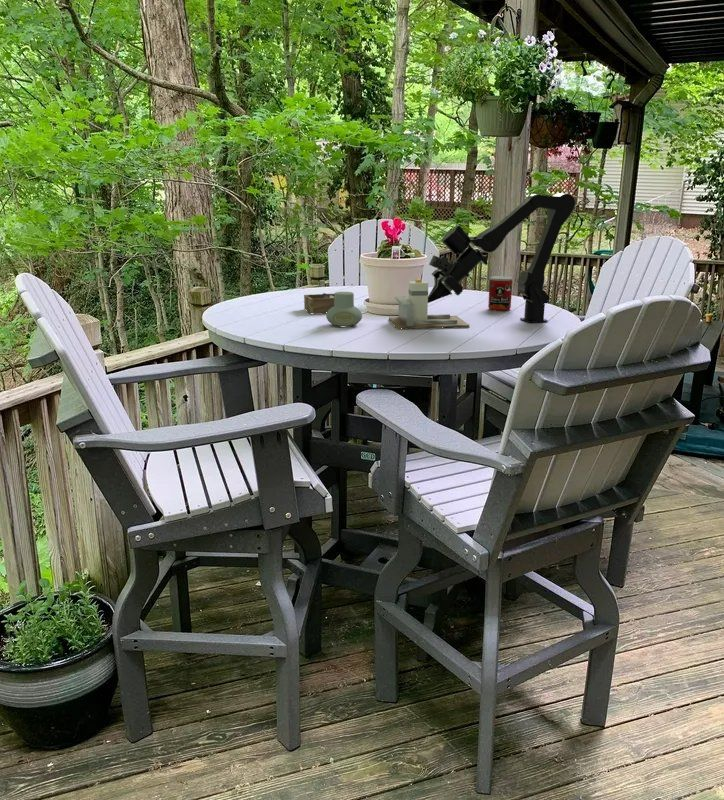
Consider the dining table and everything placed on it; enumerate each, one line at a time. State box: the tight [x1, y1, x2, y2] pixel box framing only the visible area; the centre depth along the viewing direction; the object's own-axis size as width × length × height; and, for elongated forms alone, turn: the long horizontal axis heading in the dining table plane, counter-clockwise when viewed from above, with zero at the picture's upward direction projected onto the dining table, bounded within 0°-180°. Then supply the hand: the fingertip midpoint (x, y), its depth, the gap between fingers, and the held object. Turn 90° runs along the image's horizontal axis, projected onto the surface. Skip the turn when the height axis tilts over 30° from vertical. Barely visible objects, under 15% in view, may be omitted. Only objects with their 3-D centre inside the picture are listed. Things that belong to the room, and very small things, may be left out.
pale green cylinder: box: [408, 278, 429, 321], centre depth 211 cm, size 5×5×13 cm
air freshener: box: [325, 291, 363, 327], centre depth 210 cm, size 11×8×10 cm
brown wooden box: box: [303, 293, 335, 314], centre depth 235 cm, size 10×13×5 cm
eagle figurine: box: [316, 292, 334, 299], centre depth 235 cm, size 8×7×9 cm
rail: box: [394, 296, 414, 326], centre depth 211 cm, size 3×15×7 cm, turn 7°
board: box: [388, 313, 471, 330], centre depth 213 cm, size 22×16×2 cm
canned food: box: [488, 275, 513, 312], centre depth 237 cm, size 8×8×11 cm
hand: (427, 301), depth 212 cm, fingers closed
